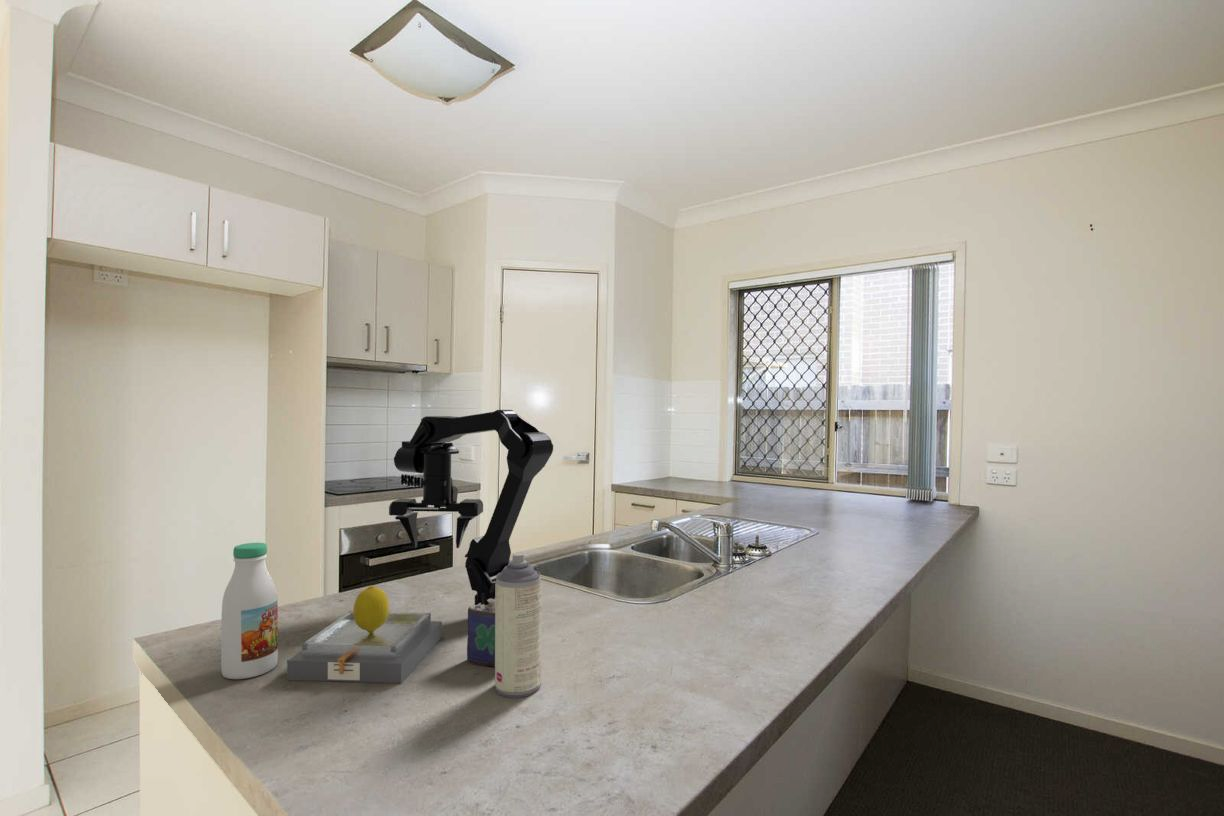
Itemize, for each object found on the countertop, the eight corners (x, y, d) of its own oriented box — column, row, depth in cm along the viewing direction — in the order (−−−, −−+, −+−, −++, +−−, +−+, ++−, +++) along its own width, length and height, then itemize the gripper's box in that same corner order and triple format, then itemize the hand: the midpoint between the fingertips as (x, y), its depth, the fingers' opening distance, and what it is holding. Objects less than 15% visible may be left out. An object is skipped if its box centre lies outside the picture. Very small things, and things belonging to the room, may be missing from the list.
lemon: (394, 627, 103) (394, 581, 103) (378, 640, 97) (379, 591, 97) (363, 626, 103) (364, 580, 103) (346, 638, 98) (346, 590, 98)
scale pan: (430, 632, 107) (430, 613, 107) (389, 675, 90) (389, 652, 90) (349, 630, 108) (349, 611, 108) (293, 672, 91) (293, 650, 91)
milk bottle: (218, 685, 90) (218, 552, 90) (224, 665, 97) (224, 542, 97) (276, 674, 94) (277, 547, 94) (278, 656, 100) (278, 537, 100)
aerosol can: (523, 672, 95) (524, 546, 95) (549, 687, 90) (550, 554, 90) (486, 686, 90) (486, 554, 90) (511, 702, 85) (512, 562, 85)
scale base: (441, 637, 109) (441, 621, 109) (400, 683, 91) (400, 664, 91) (345, 635, 110) (345, 619, 110) (286, 680, 92) (286, 660, 92)
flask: (521, 663, 98) (521, 598, 98) (514, 670, 95) (513, 603, 95) (471, 656, 101) (471, 593, 101) (462, 663, 98) (462, 598, 98)
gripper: (489, 471, 135) (488, 539, 135) (407, 470, 136) (406, 538, 136) (477, 476, 124) (476, 551, 124) (388, 475, 124) (387, 550, 124)
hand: (436, 547), depth 127 cm, fingers open, 9 cm apart
